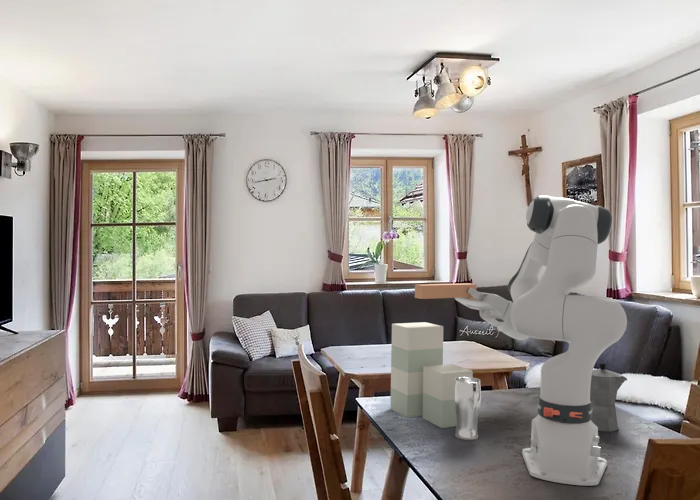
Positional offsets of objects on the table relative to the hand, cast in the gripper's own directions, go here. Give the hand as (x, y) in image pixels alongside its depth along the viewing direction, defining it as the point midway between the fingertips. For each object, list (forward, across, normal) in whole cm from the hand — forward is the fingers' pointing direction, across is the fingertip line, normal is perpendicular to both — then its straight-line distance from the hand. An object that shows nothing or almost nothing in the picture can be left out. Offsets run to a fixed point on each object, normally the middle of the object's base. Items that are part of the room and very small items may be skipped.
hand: (462, 288), depth 184 cm
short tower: (-6, +12, +38) cm, 41 cm away
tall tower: (-4, 0, +40) cm, 40 cm away
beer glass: (-4, +26, +40) cm, 48 cm away
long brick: (+4, 0, +5) cm, 7 cm away
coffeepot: (-39, +32, +20) cm, 54 cm away
